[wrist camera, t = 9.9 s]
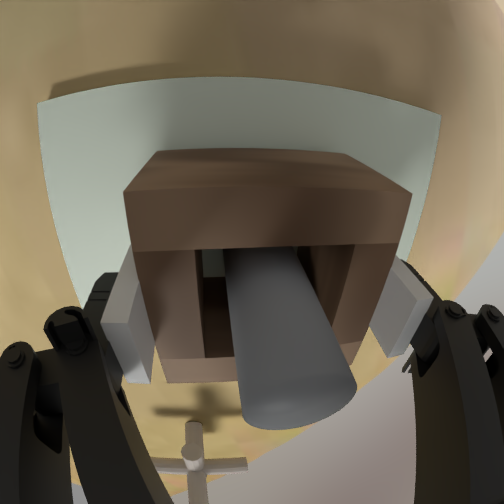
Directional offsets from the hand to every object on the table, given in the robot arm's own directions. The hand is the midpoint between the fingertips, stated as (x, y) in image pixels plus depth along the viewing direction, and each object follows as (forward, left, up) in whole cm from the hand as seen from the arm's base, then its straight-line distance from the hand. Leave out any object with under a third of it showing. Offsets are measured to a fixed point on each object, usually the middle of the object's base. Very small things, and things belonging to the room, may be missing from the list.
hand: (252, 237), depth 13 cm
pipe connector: (-5, -23, -2) cm, 24 cm away
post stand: (0, 0, -2) cm, 2 cm away
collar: (0, 0, 0) cm, 0 cm away
